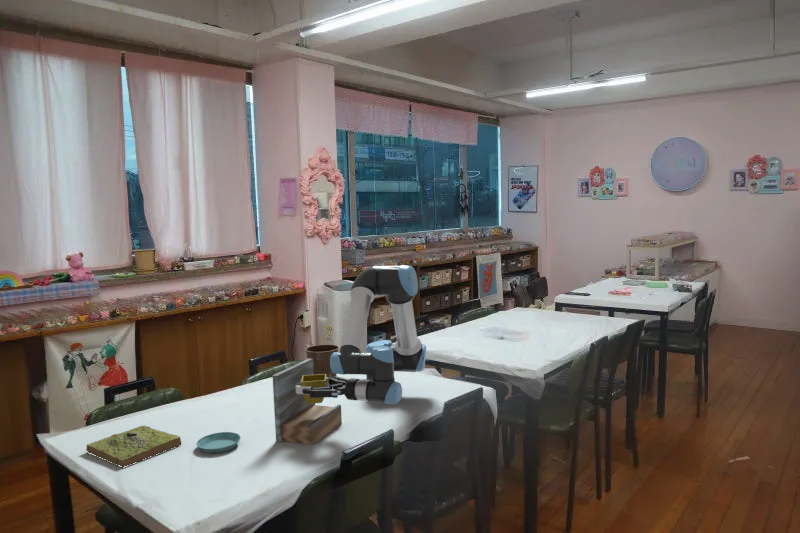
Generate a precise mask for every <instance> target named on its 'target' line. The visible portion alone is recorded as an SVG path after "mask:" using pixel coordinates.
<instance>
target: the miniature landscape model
mask: <svg viewBox="0 0 800 533" xmlns="http://www.w3.org/2000/svg"><path fill="white" fill-rule="evenodd" d="M181 444H182V440H181V436H179V435H177V434H173V433H169V432H166V431H162V430H157V429H155V428H151V427H150V426H147V425H140V426H137V427H134V428H132V429H128V430H126V431H123V432H120V433H113V434H112V435H110V436H108V437H104V438H102V439H100V440H98V441H94V442H91V443H88V444H86V449H85V450H86V451H88V452H89V453H92V454H94V455H96V456H98V457H101V458H103V459H106V460H108V461H110V462H112V463H115V464H117V465H120V466H122V467H124V466H127V465H130V464H133V463H135V462H138V461H141V460H143V459H145V458H148V457H150V456H153V455H156V454H158V453H161V452H163V451H165V450H168V449H171V448H174V447H176V448H178V447H177V446H179V445H181ZM181 446H182V445H181ZM179 447H180V446H179ZM174 449H175V448H174ZM171 450H172V449H171ZM163 453H164V452H163ZM161 454H162V453H161ZM158 455H159V454H158ZM156 456H157V455H156ZM153 457H154V456H153ZM148 459H149V458H148ZM143 461H144V460H143ZM141 462H142V461H141ZM138 463H139V462H138ZM133 465H134V464H133ZM130 466H131V465H130Z"/></svg>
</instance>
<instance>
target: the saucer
mask: <svg viewBox="0 0 800 533" xmlns="http://www.w3.org/2000/svg"><path fill="white" fill-rule="evenodd" d="M240 440H241V435H240V434H239V433H236V432H233V431H232V432H231V431H222V432H221V431H220V432H215V433H211V434H208V435H205V436H203V437H200V438H199V439H198V440H197V441H196V443H195V444H196V446H197V447H198V448H199V449H200V450H201V451H203V452H204V453H206V452H207V453H206V454H219V453H225V452H228V451H230V450H232V449H233V448H235V446H236V445H238V443H239V442H240Z"/></svg>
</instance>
